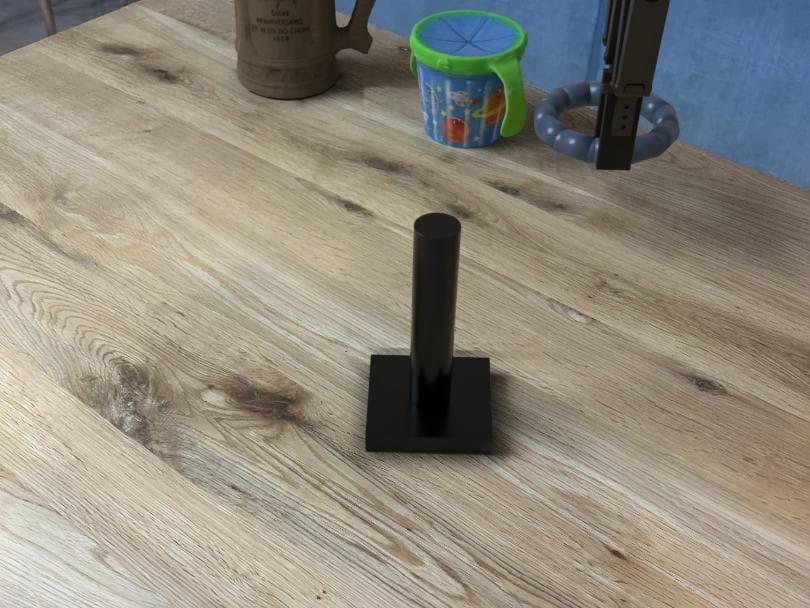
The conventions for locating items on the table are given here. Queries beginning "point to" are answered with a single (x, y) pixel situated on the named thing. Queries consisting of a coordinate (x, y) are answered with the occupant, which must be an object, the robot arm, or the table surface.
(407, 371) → the post
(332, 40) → the beer stein
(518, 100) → the snack cup
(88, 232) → the table surface
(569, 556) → the table surface
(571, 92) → the ring
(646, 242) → the table surface
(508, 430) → the table surface
